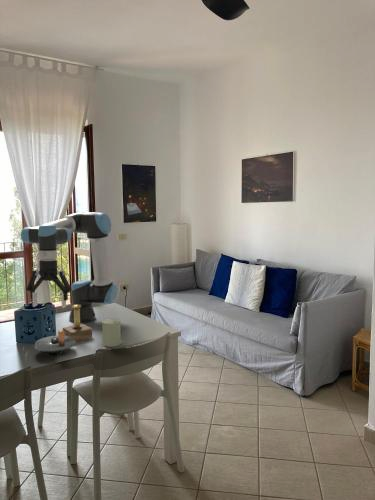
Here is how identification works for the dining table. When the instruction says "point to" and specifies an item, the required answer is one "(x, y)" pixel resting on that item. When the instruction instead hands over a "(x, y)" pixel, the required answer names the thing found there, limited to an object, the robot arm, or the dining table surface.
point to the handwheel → (55, 343)
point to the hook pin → (76, 316)
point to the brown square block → (78, 332)
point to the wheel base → (55, 352)
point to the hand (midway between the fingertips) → (49, 306)
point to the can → (111, 332)
